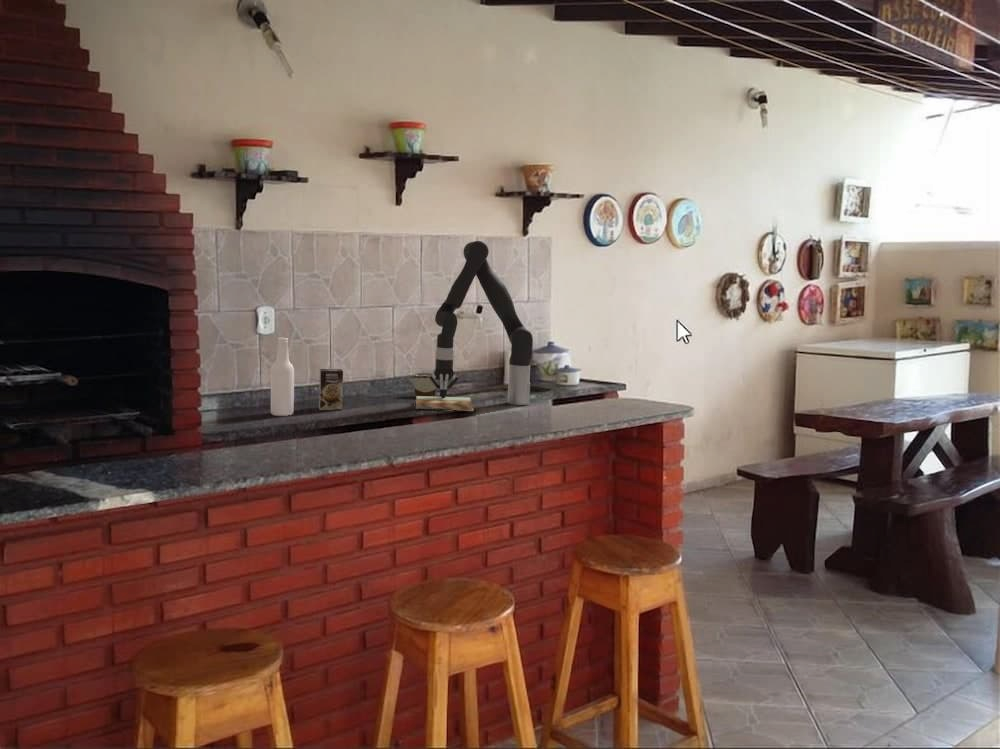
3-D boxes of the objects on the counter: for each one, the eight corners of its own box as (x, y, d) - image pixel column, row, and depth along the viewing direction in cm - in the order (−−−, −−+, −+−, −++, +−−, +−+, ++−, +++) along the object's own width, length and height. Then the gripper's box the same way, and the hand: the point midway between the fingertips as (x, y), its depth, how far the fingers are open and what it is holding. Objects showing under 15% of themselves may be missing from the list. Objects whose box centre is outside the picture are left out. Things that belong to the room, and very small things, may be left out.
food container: (440, 395, 424) (441, 373, 422) (438, 398, 418) (439, 375, 416) (413, 394, 425) (414, 372, 423) (411, 396, 419) (411, 374, 417)
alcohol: (288, 417, 363) (289, 339, 359) (266, 415, 365) (267, 338, 360) (297, 412, 372) (298, 337, 367) (276, 411, 373) (276, 336, 369)
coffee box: (319, 410, 379) (320, 370, 376) (318, 407, 385) (319, 368, 382) (342, 410, 381) (343, 370, 379) (341, 407, 387) (341, 368, 385)
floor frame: (471, 403, 408) (471, 396, 407) (473, 411, 392) (474, 403, 391) (414, 402, 405) (414, 395, 405) (414, 409, 389) (415, 402, 389)
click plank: (469, 403, 406) (470, 397, 406) (471, 406, 398) (471, 400, 398) (416, 401, 404) (416, 396, 404) (416, 404, 396) (416, 399, 396)
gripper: (459, 356, 404) (458, 396, 407) (428, 355, 403) (427, 395, 406) (460, 359, 397) (459, 400, 400) (429, 358, 396) (427, 399, 399)
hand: (443, 397), depth 403 cm, fingers closed
